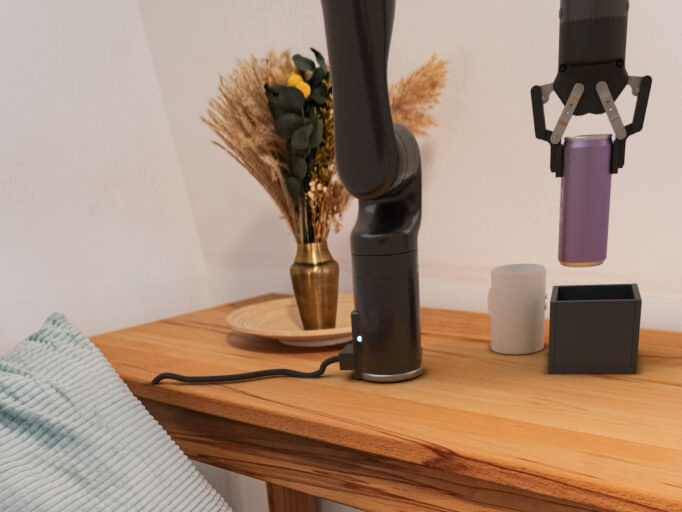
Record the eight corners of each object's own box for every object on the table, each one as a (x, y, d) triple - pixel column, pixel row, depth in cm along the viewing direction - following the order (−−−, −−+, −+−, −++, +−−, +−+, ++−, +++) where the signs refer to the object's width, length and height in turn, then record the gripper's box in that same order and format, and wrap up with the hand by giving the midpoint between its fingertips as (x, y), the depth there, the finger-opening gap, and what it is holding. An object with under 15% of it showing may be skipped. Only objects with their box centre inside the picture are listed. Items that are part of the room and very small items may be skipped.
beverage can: (607, 267, 104) (615, 134, 97) (557, 268, 105) (562, 138, 99) (604, 259, 109) (612, 133, 103) (557, 260, 110) (562, 136, 104)
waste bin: (547, 373, 116) (550, 302, 112) (550, 351, 126) (553, 285, 122) (636, 373, 113) (641, 300, 109) (632, 351, 123) (637, 283, 119)
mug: (513, 334, 138) (514, 258, 133) (555, 348, 128) (558, 267, 122) (469, 341, 135) (468, 265, 130) (508, 357, 125) (509, 275, 120)
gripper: (658, 13, 97) (646, 169, 104) (531, 26, 101) (528, 176, 108) (662, 6, 90) (650, 174, 98) (526, 21, 94) (523, 181, 101)
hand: (586, 174), depth 103 cm, fingers closed on beverage can, 6 cm apart
